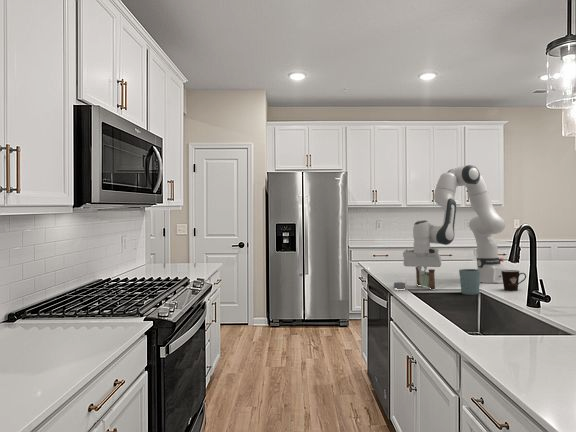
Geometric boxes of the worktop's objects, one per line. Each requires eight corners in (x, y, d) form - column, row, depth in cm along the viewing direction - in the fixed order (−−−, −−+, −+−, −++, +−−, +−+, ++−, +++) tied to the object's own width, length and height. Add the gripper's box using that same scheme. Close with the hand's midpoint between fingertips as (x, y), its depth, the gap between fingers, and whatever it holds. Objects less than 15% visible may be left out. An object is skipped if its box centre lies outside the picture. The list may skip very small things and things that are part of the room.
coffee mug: (501, 290, 250) (500, 271, 250) (502, 288, 257) (501, 269, 257) (526, 291, 244) (525, 272, 244) (526, 289, 252) (526, 270, 252)
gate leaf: (422, 284, 274) (421, 270, 274) (431, 287, 264) (430, 272, 264) (419, 284, 274) (419, 270, 274) (428, 287, 263) (428, 272, 263)
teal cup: (458, 294, 244) (457, 270, 244) (461, 291, 253) (460, 268, 253) (479, 295, 239) (479, 271, 239) (482, 292, 248) (481, 268, 248)
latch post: (432, 288, 266) (431, 268, 266) (437, 289, 260) (436, 269, 260) (426, 288, 265) (425, 269, 265) (431, 290, 260) (430, 270, 260)
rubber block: (401, 289, 267) (401, 282, 267) (405, 290, 263) (405, 283, 263) (394, 289, 266) (393, 282, 266) (397, 291, 262) (397, 283, 262)
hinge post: (420, 285, 278) (419, 266, 278) (423, 286, 274) (422, 267, 274) (415, 285, 277) (414, 267, 277) (418, 286, 274) (417, 267, 274)
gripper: (401, 250, 268) (402, 275, 268) (439, 250, 259) (440, 276, 259) (404, 249, 274) (404, 273, 274) (441, 249, 265) (442, 274, 265)
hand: (422, 274), depth 266 cm, fingers closed
